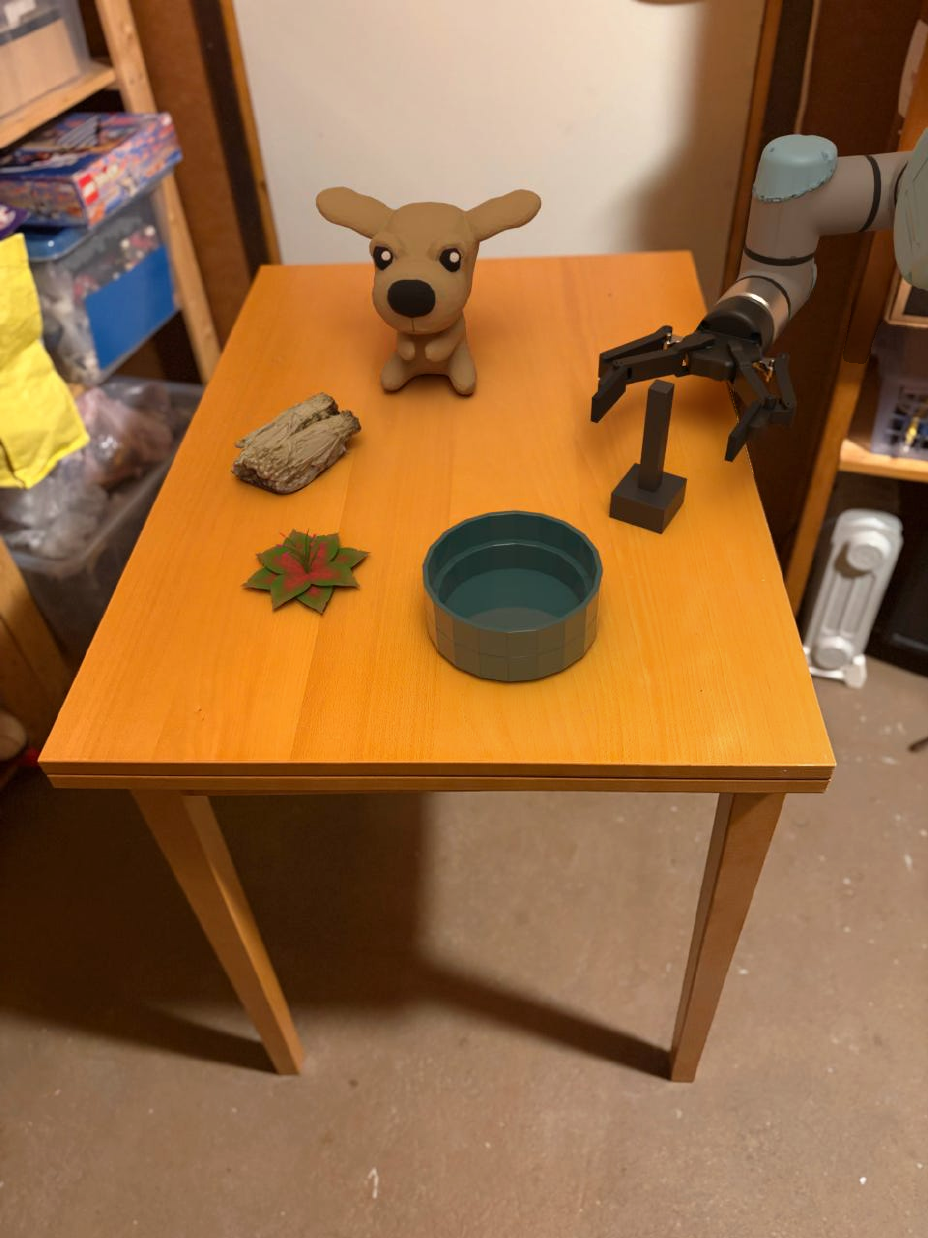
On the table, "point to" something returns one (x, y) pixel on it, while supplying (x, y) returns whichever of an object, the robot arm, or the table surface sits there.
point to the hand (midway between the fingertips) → (660, 429)
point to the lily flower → (306, 569)
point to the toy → (426, 273)
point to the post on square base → (651, 471)
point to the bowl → (512, 594)
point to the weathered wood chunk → (295, 445)
